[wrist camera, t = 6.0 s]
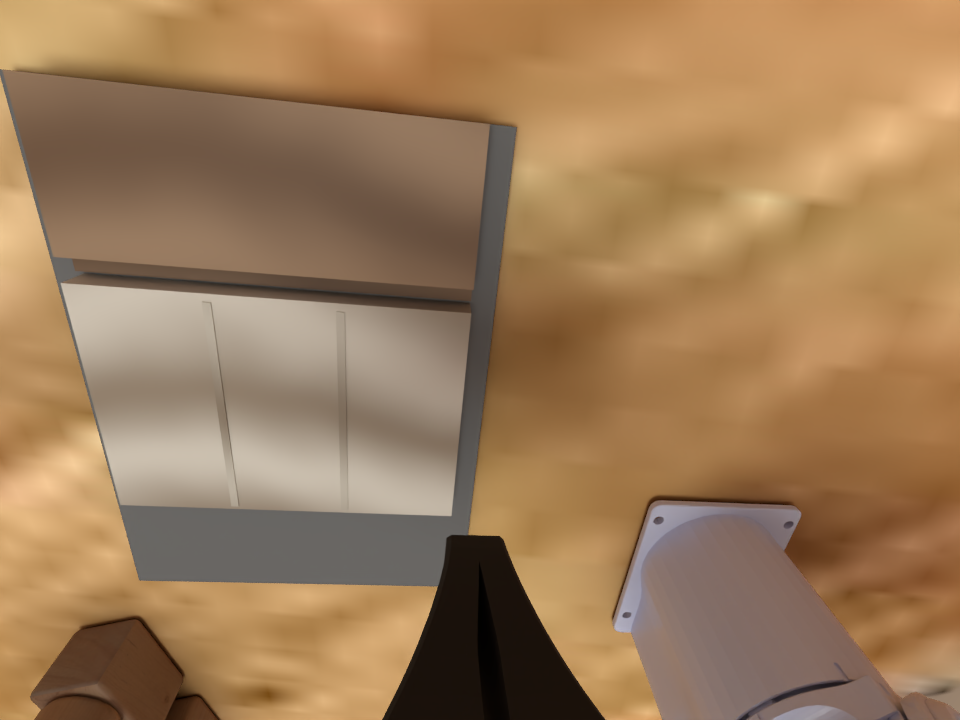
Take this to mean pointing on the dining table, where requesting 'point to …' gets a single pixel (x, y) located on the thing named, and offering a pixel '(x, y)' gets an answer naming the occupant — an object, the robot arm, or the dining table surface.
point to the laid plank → (252, 188)
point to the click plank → (273, 394)
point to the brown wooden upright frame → (114, 679)
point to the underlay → (327, 535)
